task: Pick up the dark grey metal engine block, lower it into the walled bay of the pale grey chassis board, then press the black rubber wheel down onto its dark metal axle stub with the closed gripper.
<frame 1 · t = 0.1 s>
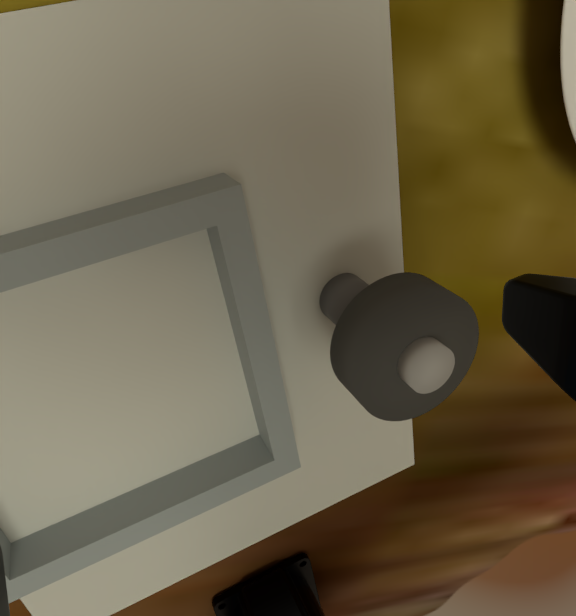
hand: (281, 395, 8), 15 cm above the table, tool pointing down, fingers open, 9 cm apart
chassis: (185, 340, 24), on the table
wheel: (410, 352, 21), point 7 cm above the table, slide at 2.0 cm
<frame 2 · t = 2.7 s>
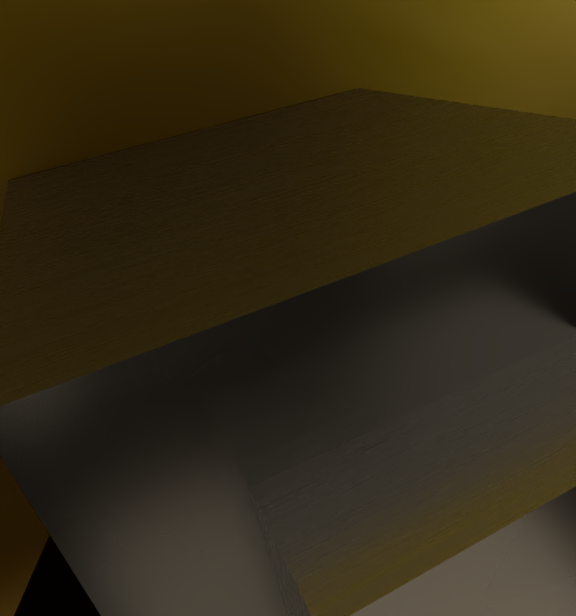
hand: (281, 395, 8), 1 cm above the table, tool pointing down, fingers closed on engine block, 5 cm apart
engine block: (257, 363, 9), on the table, touching gripper
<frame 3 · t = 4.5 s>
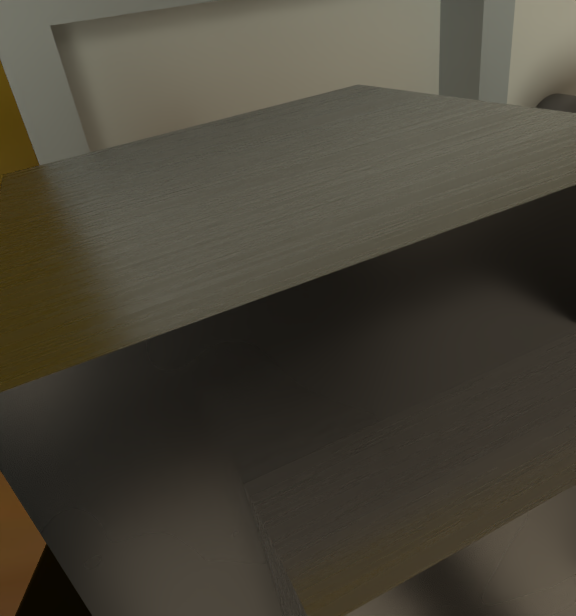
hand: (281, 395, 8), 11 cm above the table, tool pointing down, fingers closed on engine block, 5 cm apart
chassis: (374, 162, 20), on the table
engine block: (255, 361, 9), point 10 cm above the table, touching gripper
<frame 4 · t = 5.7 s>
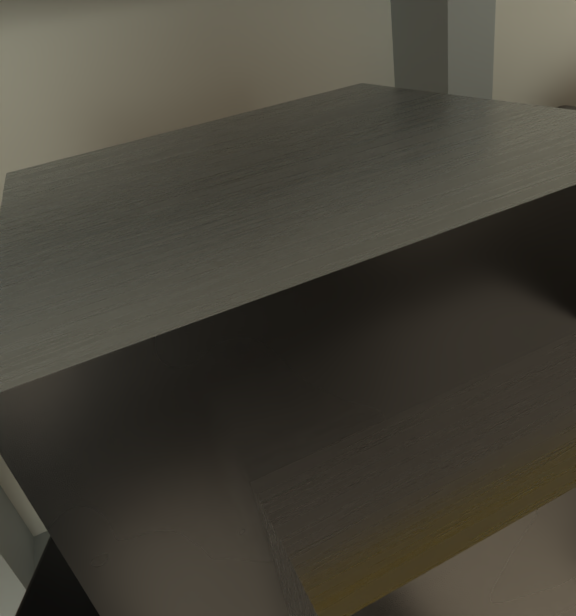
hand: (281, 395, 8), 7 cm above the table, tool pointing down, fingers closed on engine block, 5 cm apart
chassis: (315, 207, 15), on the table
engine block: (257, 360, 9), point 6 cm above the table, touching gripper
when the fingers open (4 cm above the table, at t = 6.6 s): engine block drops 2 cm, resting on chassis.
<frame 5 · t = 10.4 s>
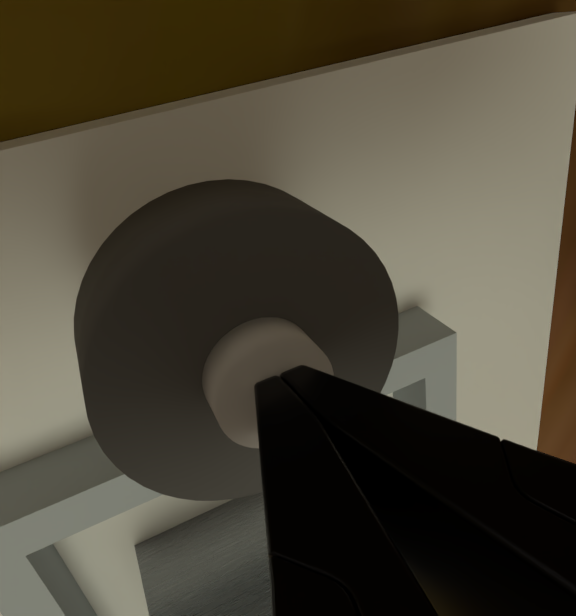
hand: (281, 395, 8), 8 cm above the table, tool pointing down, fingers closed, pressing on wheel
chassis: (227, 438, 18), on the table
engine block: (261, 537, 20), point 1 cm above the table, touching chassis
wheel: (247, 353, 9), point 6 cm above the table, slide at 1.6 cm, touching gripper
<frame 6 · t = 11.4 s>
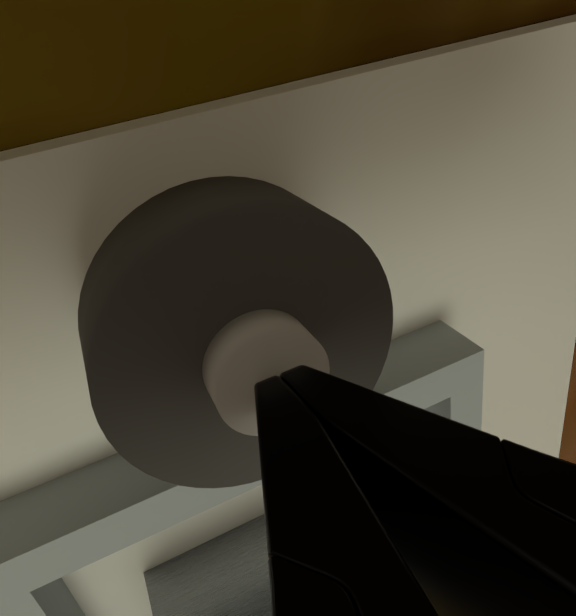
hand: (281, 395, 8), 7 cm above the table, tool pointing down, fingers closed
chassis: (240, 458, 18), on the table
engine block: (275, 560, 19), point 1 cm above the table, touching chassis
wheel: (246, 344, 10), point 5 cm above the table, slide at 0.2 cm
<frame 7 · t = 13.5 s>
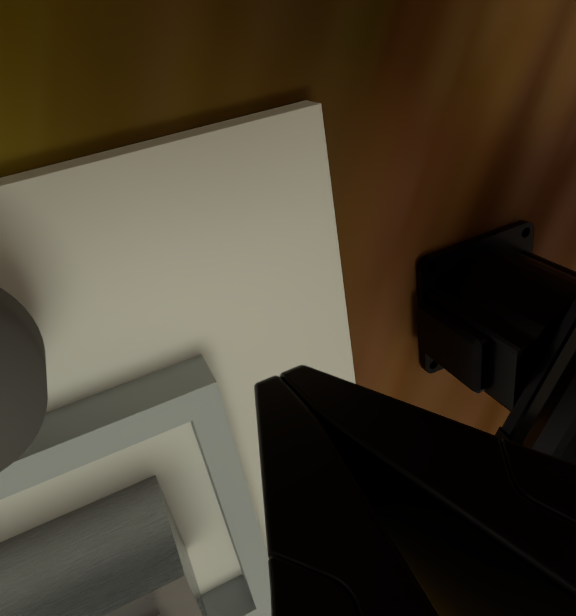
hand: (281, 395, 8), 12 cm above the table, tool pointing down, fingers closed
chassis: (39, 470, 21), on the table
engine block: (79, 557, 22), point 1 cm above the table, touching chassis
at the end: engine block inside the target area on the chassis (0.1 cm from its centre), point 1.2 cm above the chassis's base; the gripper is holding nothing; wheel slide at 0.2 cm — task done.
